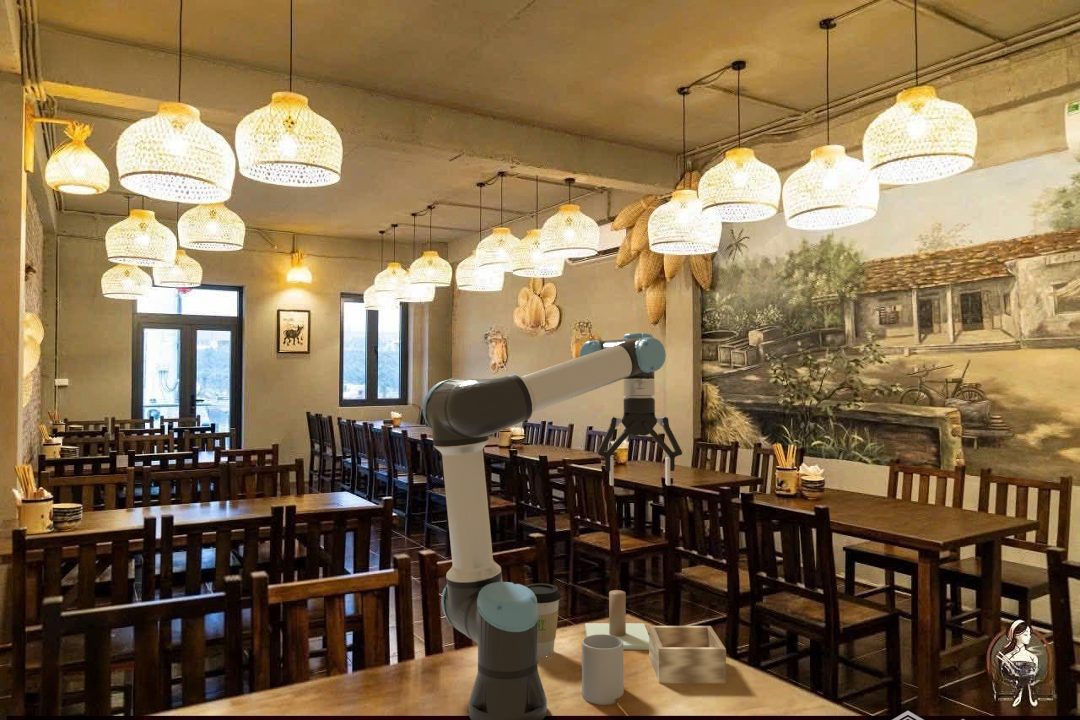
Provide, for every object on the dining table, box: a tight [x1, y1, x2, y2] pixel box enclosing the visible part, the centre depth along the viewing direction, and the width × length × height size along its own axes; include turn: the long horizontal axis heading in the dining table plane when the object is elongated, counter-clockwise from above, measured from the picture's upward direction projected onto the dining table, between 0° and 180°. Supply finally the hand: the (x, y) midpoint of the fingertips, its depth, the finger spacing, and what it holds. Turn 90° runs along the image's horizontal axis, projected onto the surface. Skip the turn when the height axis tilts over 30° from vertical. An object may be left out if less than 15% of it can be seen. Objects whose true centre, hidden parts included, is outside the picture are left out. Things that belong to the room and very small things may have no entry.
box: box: [648, 625, 727, 684], centre depth 156 cm, size 14×14×8 cm
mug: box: [581, 634, 625, 706], centre depth 147 cm, size 12×8×11 cm
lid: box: [584, 589, 649, 651], centre depth 175 cm, size 15×15×12 cm
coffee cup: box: [524, 582, 562, 658], centre depth 168 cm, size 10×10×15 cm
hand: (639, 484), depth 173 cm, fingers open, 13 cm apart
